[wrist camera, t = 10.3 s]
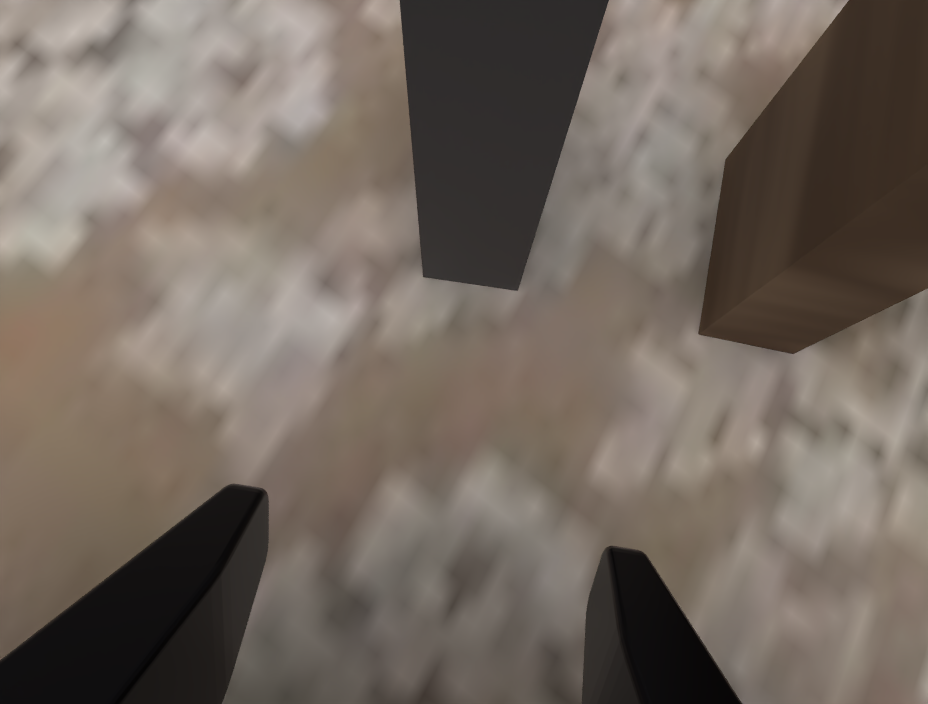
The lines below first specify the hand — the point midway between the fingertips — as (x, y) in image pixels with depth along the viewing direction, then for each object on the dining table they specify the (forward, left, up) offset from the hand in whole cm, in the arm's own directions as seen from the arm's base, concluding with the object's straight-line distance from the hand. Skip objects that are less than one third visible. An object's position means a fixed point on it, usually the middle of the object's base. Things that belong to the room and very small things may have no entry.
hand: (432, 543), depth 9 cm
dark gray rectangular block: (+7, +1, -7) cm, 10 cm away
